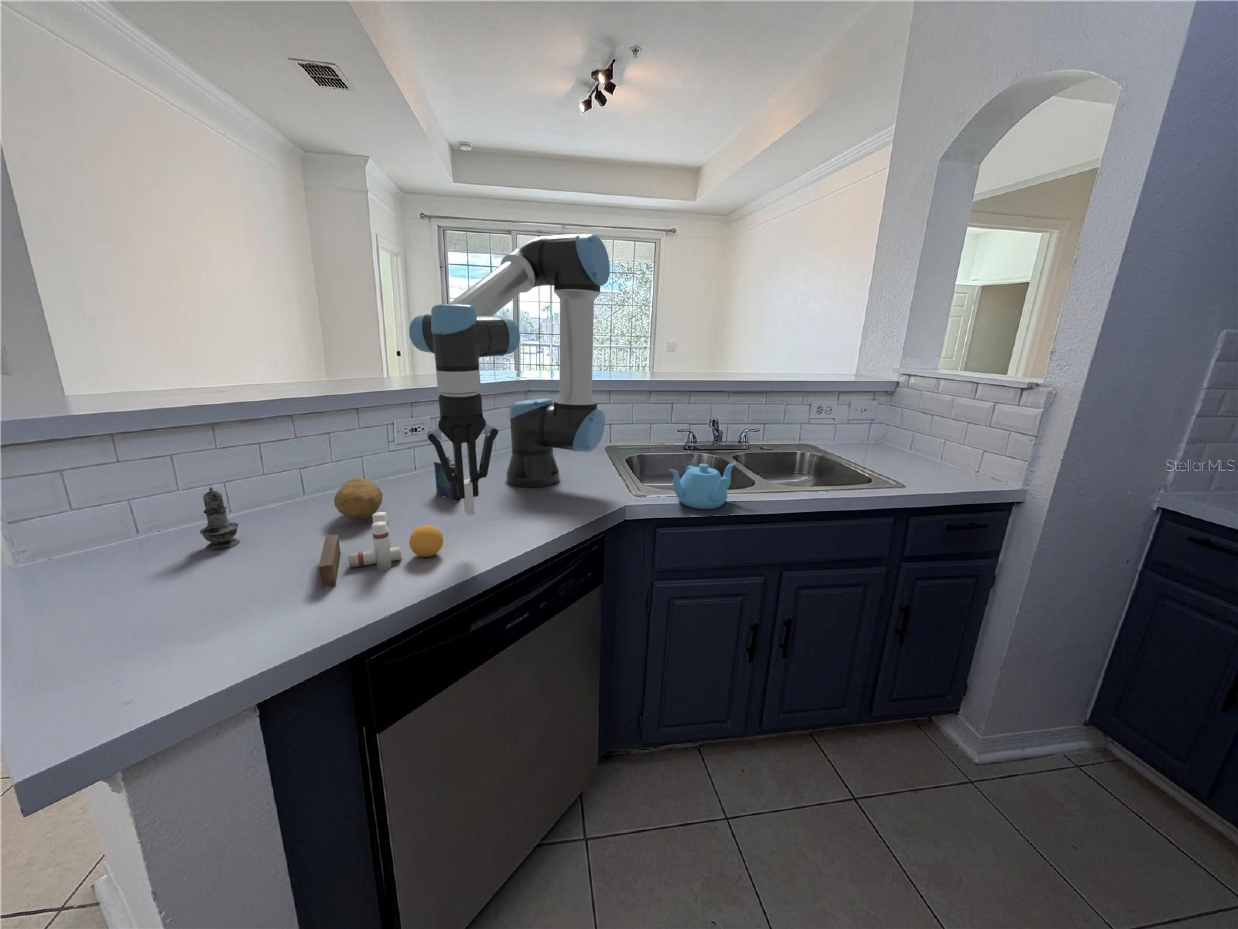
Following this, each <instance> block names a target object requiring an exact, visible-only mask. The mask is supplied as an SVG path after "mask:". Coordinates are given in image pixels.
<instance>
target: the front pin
mask: <svg viewBox="0 0 1238 929" xmlns="http://www.w3.org/2000/svg"><path fill="white" fill-rule="evenodd" d="M401 553H402V552H401V546H396V547H390V555H391V562H393V561H394V562H395V561H400V560H402V554H401ZM348 565H349V568H356V567H365V566H369V565H377V563H376V555H375V549H374V550H368V551H359V552H356V553H348Z"/></svg>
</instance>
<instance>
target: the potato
mask: <svg viewBox="0 0 1238 929" xmlns="http://www.w3.org/2000/svg"><path fill="white" fill-rule="evenodd" d="M333 502H334V508H336V509H337V511H338V513H339V514H342V515H344V516H345V517H347V518H350V519H352V520H363V521H364V520H366V519H369V518H370V517H373V516H372V515H373V514H374V513H377V511H378V509H379V508H380V507H381V505H382V502H383V492H382V490H381V489H380V488H379V487H378V486H377V485H375V483H374V482H372V481H371V480H368V479H365V478H357V477H356V478H352V479H349V480H348V481H346V482H345V483H343V485H342V486H341V487H340V488H339V489H338V491H336V493H335V496H334V498H333Z"/></svg>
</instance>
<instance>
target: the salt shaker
mask: <svg viewBox="0 0 1238 929" xmlns="http://www.w3.org/2000/svg"><path fill="white" fill-rule="evenodd" d="M202 498H203V504H204V510H203V513H204V514H205V516H206V519H207V520H206V521H207V524H206V526H204V527H203V528H201V529H200V531H199V533H200V534H201V535H202V537H203V538H204V540H206V541H207V542H210V543H208V544H207V545H206V546H205V550H206V551H209V552H217V551H223V550H227V549H231V548H234V547H236V546H238V545H239V544H240V543H241V540H240V539H238V538H235V536H236V535H237V531H238V528H239V524H238V523H237V522H233V521H230V520H229V518H228V515H227V510H228V507H227V506H225V504H224V499H223V494H222V493H221V492H220V491H217V490H214V488H213V487H211V486H210V487H209V489H208V492H205V493H204V495H203V496H202ZM237 544H238V545H237Z"/></svg>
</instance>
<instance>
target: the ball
mask: <svg viewBox="0 0 1238 929" xmlns="http://www.w3.org/2000/svg"><path fill="white" fill-rule="evenodd" d="M443 545H444V536H443V533H442V531H441V530H440V529H439V528H438V527H436V526H434V525H430V524H425V525H421V526H419V527H417V528H415V529H414V530H413V531H412V532H411V535H410V537H409V547H410V549H411V551H412V552H413V553H414V554H415V555H416V556H419V557H423V558H428V557H432V556H435V555H436V554H437V553H439V551H440V550H441V549H442V548H443Z"/></svg>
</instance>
